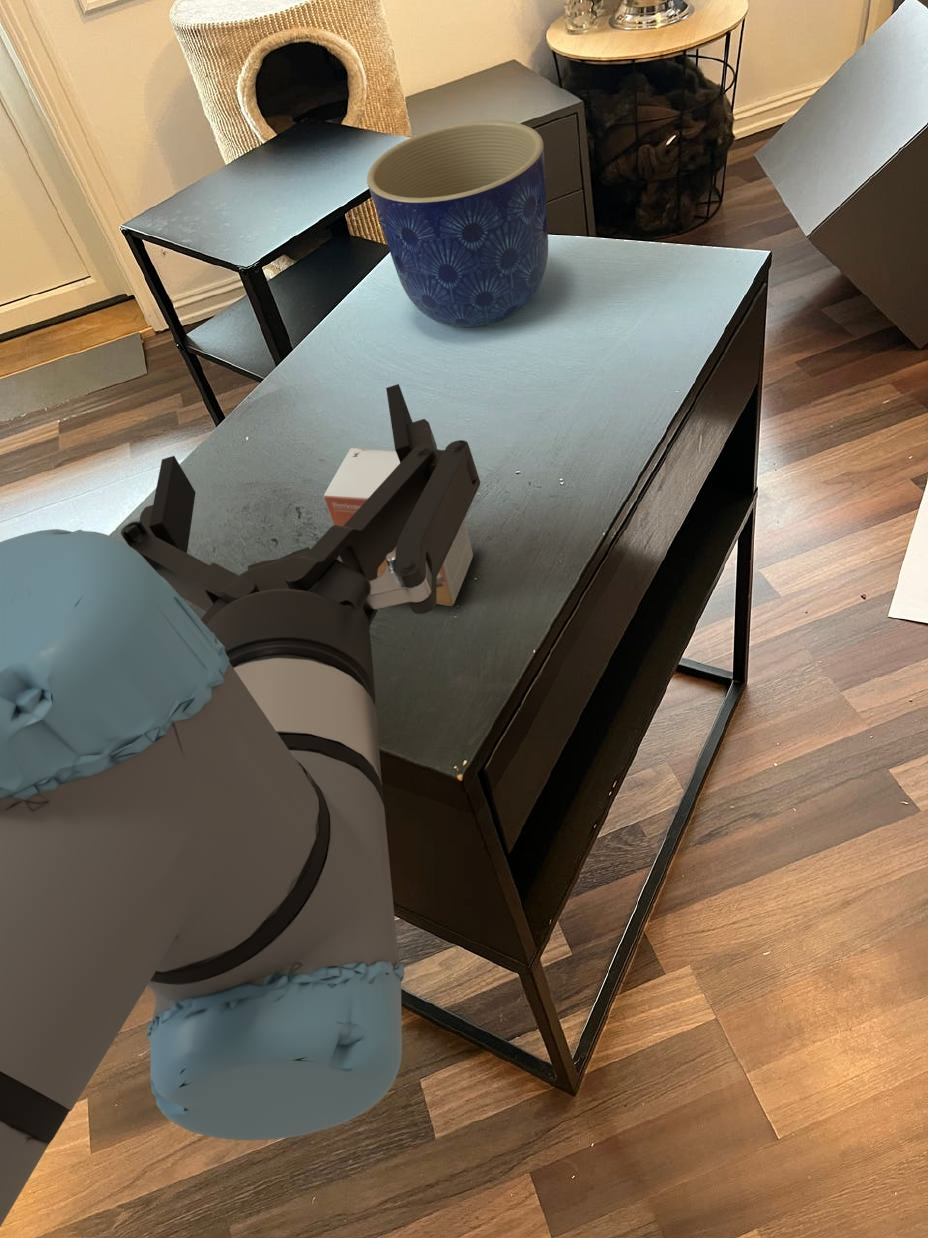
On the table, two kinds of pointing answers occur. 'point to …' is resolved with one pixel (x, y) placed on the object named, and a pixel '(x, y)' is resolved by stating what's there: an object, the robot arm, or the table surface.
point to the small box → (360, 482)
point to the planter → (465, 219)
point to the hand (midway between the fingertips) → (288, 440)
